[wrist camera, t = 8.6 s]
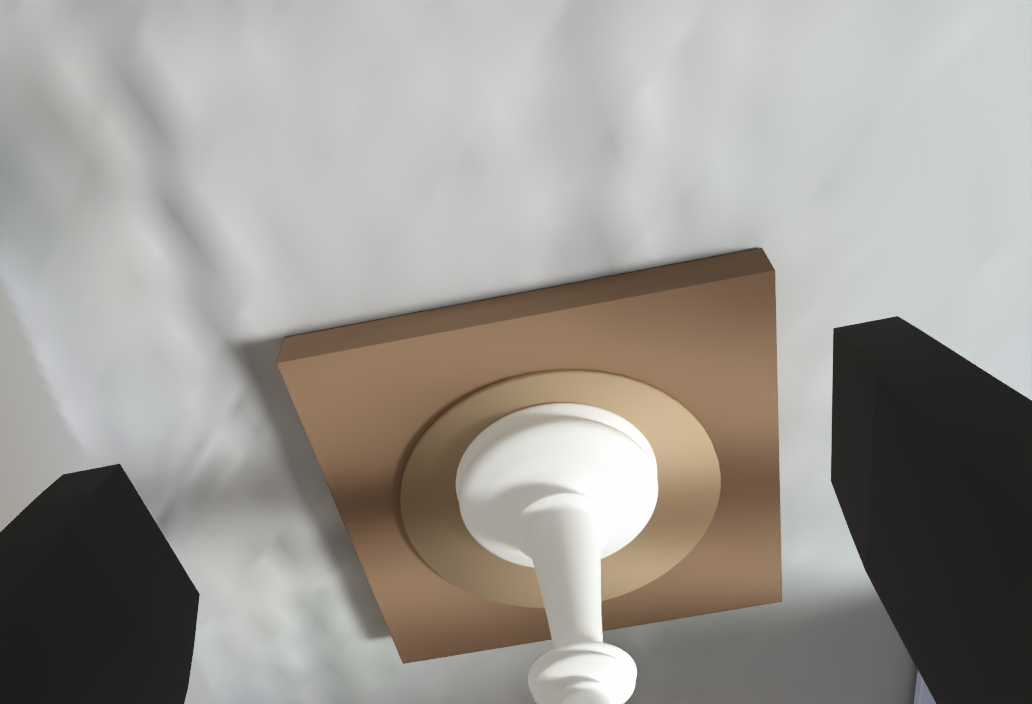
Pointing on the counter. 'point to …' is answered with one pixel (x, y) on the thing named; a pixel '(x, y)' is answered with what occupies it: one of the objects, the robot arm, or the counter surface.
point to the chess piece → (563, 529)
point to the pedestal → (545, 380)
